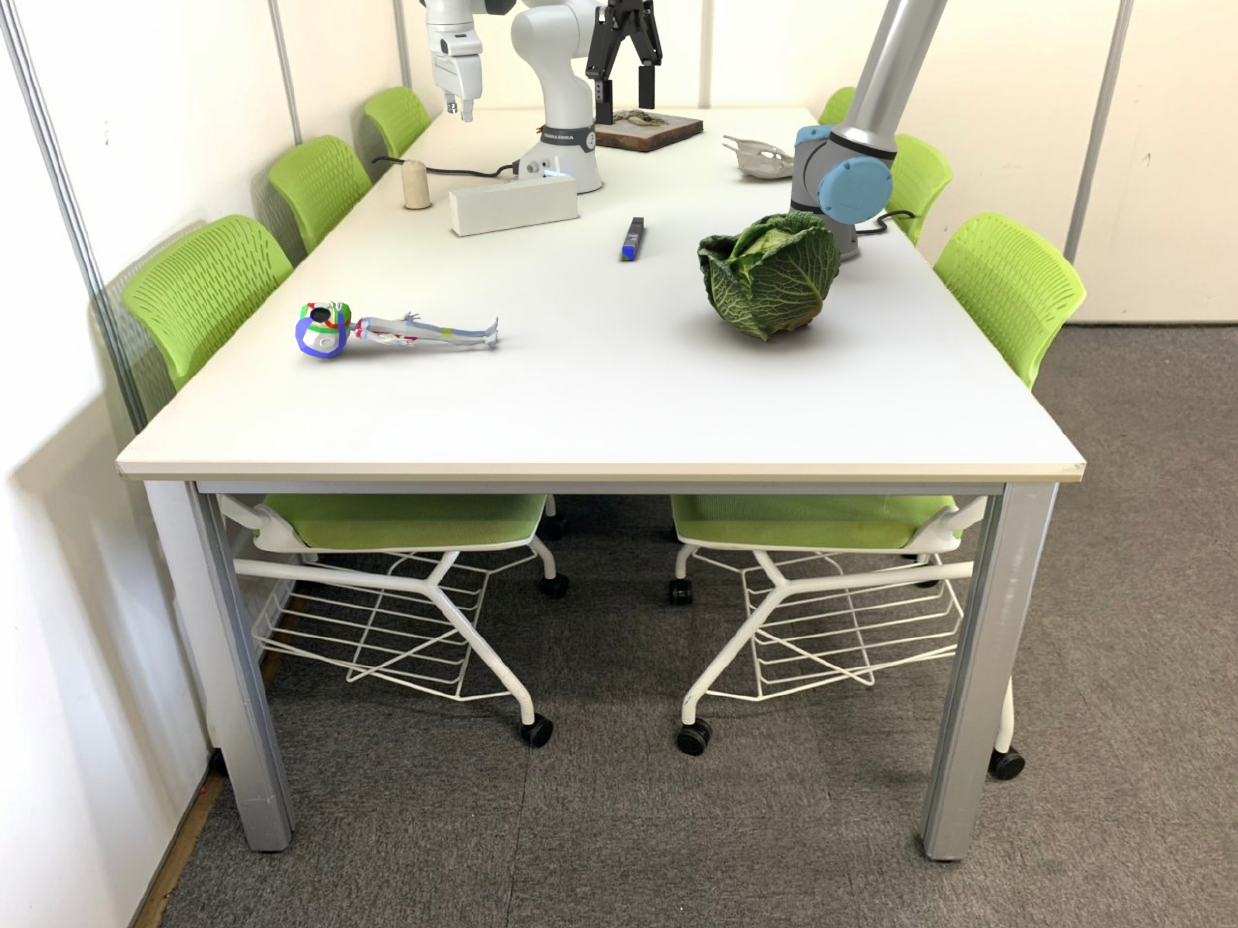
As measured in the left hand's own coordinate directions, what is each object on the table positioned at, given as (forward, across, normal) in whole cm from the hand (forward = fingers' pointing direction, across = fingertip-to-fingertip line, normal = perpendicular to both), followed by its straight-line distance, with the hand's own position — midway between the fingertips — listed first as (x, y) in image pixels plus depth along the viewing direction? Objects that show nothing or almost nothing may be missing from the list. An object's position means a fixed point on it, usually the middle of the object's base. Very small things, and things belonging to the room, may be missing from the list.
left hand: (459, 117), depth 175 cm
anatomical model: (+22, -5, +79) cm, 82 cm away
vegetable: (+23, +71, +26) cm, 78 cm away
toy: (+23, +51, -28) cm, 62 cm away
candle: (+23, -23, -5) cm, 33 cm away
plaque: (+22, -61, +69) cm, 95 cm away
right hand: (-6, +42, +15) cm, 45 cm away
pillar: (+23, +24, +26) cm, 42 cm away
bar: (+23, 0, +10) cm, 25 cm away
